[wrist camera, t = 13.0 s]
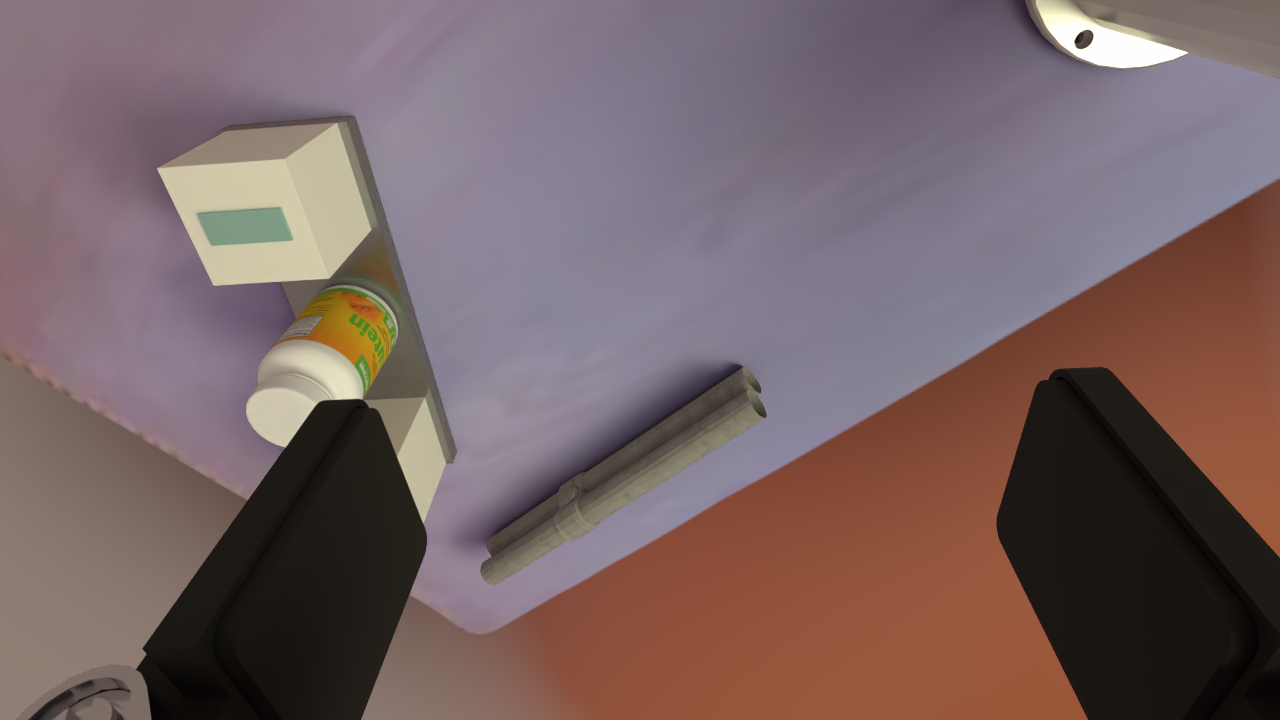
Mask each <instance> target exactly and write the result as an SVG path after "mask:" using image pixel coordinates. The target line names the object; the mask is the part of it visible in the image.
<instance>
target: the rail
mask: <svg viewBox="0 0 1280 720" xmlns="http://www.w3.org/2000/svg"><path fill="white" fill-rule="evenodd" d="M327 123H337V124H338V127H339V130H340V134H341V137H342V140H343V143H344V146H345V149H346V152H347V155H348V159H349V162H350V165H351V168H352V171H353V174H354V177H355V180H356V184H357V187H358V190H359V193H360V196H361V199H362V202H363V205H364V209H365V212H366V215H367V218H368V221H369V224H370V227H371V231H370V232H369V233H368V235H367V236H366V237H365V238H364V239H363V240H362V241H361V243H360V244H359V245H358V246H357V247H356V248H355V250H354V251H353V252H352V253H351V254H350V255H349V256H348V258H347V259H346V260H345V261H344V262H343V263H342V265H341V266H340V267H339V268H338V269H337V270H336V271H335V273H334V274H333V275H332V276H331V277H330V278H329V279H315V280H298V281H282V282H281V284H282V287H283V289H284V291H285V294H286V296H287V299H288V301H289V303H290V306H291V308H292V311H293V313H294V315H295V318H297V317H298V316H299V315H300V314H301V312H302V311H303V310H304V309H305V308H306V306H307V305H308V304H309V303H310V302H311V301H312V300H313V299H314V298H315V297H316V296H317V295H318V294H319V293H320V292H321V291H323V290H325V289H327V288H329V287H333V286H338V285H352V286H357V287H361V288H364V289H366V290H368V291H370V292H372V293H374V294H375V295H377V296H378V297H380V298H381V299H382V300H383V301H384V302H385V303H386V304H387V305H388V306H389V307H390V309H391V310H392V312H393V314H394V315H395V318H396V321H397V325H398V336H397V340H396V343H395V345H394V346H393V349H392V350H391V352H390V354H389V355H388V357H387V359H386V360H385V362H384V364H383V365H382V367H381V369H380V371H379V372H378V374H377V376H376V377H375V379H374V381H373V382H372V384H371V386H370V388H369V389H368V391H367V393H366V395H365V396H364V398H363V400H378V399H398V398H418V397H425V399H426V402H427V406H428V409H429V412H430V415H431V418H432V421H433V424H434V427H435V431H436V434H437V437H438V440H439V443H440V446H441V449H442V452H443V456H444V459H445V462H446V463H453V461H454V459H455V456H456V453H457V451H456V447H455V444H454V441H453V437H452V434H451V431H450V428H449V424H448V421H447V418H446V414H445V411H444V408H443V404H442V401H441V398H440V395H439V391H438V388H437V385H436V381H435V378H434V375H433V372H432V368H431V365H430V362H429V358H428V355H427V352H426V349H425V345H424V342H423V339H422V335H421V332H420V329H419V325H418V322H417V319H416V316H415V312H414V309H413V306H412V302H411V299H410V296H409V293H408V289H407V286H406V283H405V279H404V276H403V273H402V270H401V266H400V263H399V260H398V256H397V253H396V250H395V246H394V243H393V240H392V237H391V233H390V230H389V227H388V223H387V220H386V217H385V214H384V210H383V207H382V204H381V200H380V197H379V194H378V191H377V187H376V184H375V181H374V177H373V174H372V171H371V167H370V164H369V161H368V158H367V154H366V151H365V148H364V144H363V141H362V138H361V135H360V131H359V128H358V125H357V121H356V118H355V116H348V117H335V118H321V119H308V120H295V121H282V122H268V123H255V124H242V125H229V126H227V127H225V128H224V129H222V130H220V131H218V134H219V135H220V134H222V133H224V132H226V131H233V130H247V129H260V128H273V127H287V126H300V125H313V124H327Z"/></svg>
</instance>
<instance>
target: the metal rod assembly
mask: <svg viewBox="0 0 1280 720" xmlns="http://www.w3.org/2000/svg"><path fill="white" fill-rule="evenodd" d="M760 393H761V387H760V385H759V383H758V381H757V380H756V378H755V377H754V376H753V375H752V374H751V372H750V371H749V370H747V369H746V368H745V367H742V368H741V369H739V370H738V371H736V372H735V373H733V374H732V375H730V376H729V377H728V378H726V379H725V380H723V381H722V382H720V383H719V384H717V385H716V386H714V387H713V388H711V389H710V390H708V391H707V392H705V393H704V394H702V395H701V396H699V397H698V398H696V399H695V400H693V401H692V402H690V403H689V404H687V405H686V406H684V407H683V408H681V409H680V410H678V411H677V412H675V413H674V414H672V415H671V416H669V417H668V418H666V419H665V420H663V421H662V422H660V423H659V424H657V425H656V426H654V427H653V428H651V429H650V430H648V431H647V432H645V433H644V434H642V435H641V436H639V437H638V438H636V439H635V440H633V441H632V442H630V443H629V444H627V445H626V446H624V447H623V448H621V449H620V450H618V451H617V452H615V453H614V454H613V455H611V456H610V457H608V458H607V459H605V460H604V461H602V462H601V463H599V464H598V465H596V466H595V467H593V468H592V469H590V470H589V471H587V472H585V471H584V472H581V473H579V474H577V475H576V476H574V477H573V478H571V479H570V480H568V481H567V482H566V483H565V484H563V485H561V487H560V488H559V492H557V493H556V494H554V495H553V496H551V497H550V498H548V499H547V500H545V501H544V502H543V503H541V504H540V505H538V506H537V507H535V508H534V509H532V510H531V511H529V512H528V513H526V514H525V515H523V516H522V517H520V518H519V519H517V520H516V521H514V522H513V523H511V524H510V525H509V526H507V527H506V528H504V529H503V530H501V531H500V532H498V533H497V534H495V535H494V536H492V537H491V538H489V540H488V542H487V549H488V551H489V553H490V554H491V556H492V557H491V558H489V559H488V560H486V561H485V562H483V563H482V565H481V570H480V572H481V575H482V577H483V579H484V581H486V582H487V583H488V584H490V585H497V584H498V583H500V582H501V581H503V580H504V579H506V578H508V577H509V576H511V575H512V574H514V573H516V572H517V571H519V570H521V569H522V568H524V567H525V566H527V565H529V564H530V563H532V562H534V561H535V560H537V559H538V558H540V557H542V556H543V555H545V554H547V553H548V552H550V551H551V550H553V549H555V548H556V547H558V546H560V545H561V544H563V543H564V542H566V541H568V540H570V541H574V540H577V539H578V538H580V537H582V536H584V535H585V534H587V533H589V532H590V531H592V530H593V529H594V528H596V527H597V526H598V524H599V523H600V521H602V520H603V519H605V518H606V517H608V516H610V515H611V514H613V513H614V512H616V511H618V510H619V509H621V508H622V507H624V506H625V505H627V504H629V503H630V502H632V501H633V500H635V499H637V498H638V497H640V496H641V495H643V494H645V493H646V492H648V491H649V490H651V489H653V488H654V487H656V486H657V485H659V484H661V483H662V482H664V481H665V480H667V479H669V478H670V477H672V476H673V475H675V474H677V473H678V472H680V471H681V470H683V469H685V468H686V467H688V466H689V465H691V464H693V463H694V462H696V461H697V460H699V459H701V458H702V457H704V456H705V455H707V454H709V453H710V452H712V451H713V450H715V449H717V448H718V447H720V446H721V445H723V444H724V443H726V442H728V441H729V440H731V439H732V438H734V437H736V436H737V435H739V434H740V433H742V432H744V431H745V430H747V429H748V428H750V427H752V426H753V425H755V424H756V423H758V422H760V421H761V420H763V419H764V418H766V412H765V409H764V406H763V404H762V403H761V401H760V399H759V398H758V397H757V395H758V394H760Z"/></svg>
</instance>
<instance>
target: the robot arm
mask: <svg viewBox="0 0 1280 720" xmlns="http://www.w3.org/2000/svg"><path fill="white" fill-rule="evenodd" d="M1025 2H1026V5H1027V8H1028V11H1029V14H1030V16H1031V18H1032V20H1033V21H1034V23H1035V25H1036V26H1037V28H1038V29H1039V31H1040V33H1041V34H1042V35H1043V36H1044V37H1045V38H1046V39H1047V40H1048V41H1049V42H1050V43H1051V44H1052V45H1053V46H1054V47H1056V48H1057V49H1058V50H1060V51H1061V52H1063V53H1065V54H1067V55H1069V56H1071V57H1073V58H1075V59H1076V60H1079V61H1082V62H1085V63H1088V64H1091V65H1094V66H1098V67H1106V68H1113V69H1131V68H1144V67H1149V66H1153V65H1156V64H1160V63H1164V62H1168V61H1172V60H1174V59H1177V58H1179V57H1181V56H1184V55H1186V54H1188V53H1191V54H1195V55H1198V56H1202V57H1205V58H1209V59H1212V60H1216V61H1219V62H1223V63H1226V64H1230V65H1233V66H1237V67H1240V68H1244V69H1247V70H1251V71H1254V72H1258V73H1261V74H1265V75H1268V76H1272V77H1275V78H1279V79H1280V0H1025ZM1078 34H1079V37H1078V39H1077V40H1076V41H1074V40H1075V38H1076V36H1077V35H1078ZM997 532H998V536H999V539H1000V542H1001V544H1002V546H1003V548H1004V550H1005V552H1006V554H1007V556H1008V558H1009V560H1010V563H1011V565H1012V567H1013V569H1014V571H1015V573H1016V574H1017V577H1018V578H1019V581H1020V583H1021V585H1022V587H1023V589H1024V591H1025V593H1026V595H1027V597H1028V599H1029V601H1030V603H1031V605H1032V607H1033V609H1034V611H1035V613H1036V615H1037V617H1038V619H1039V621H1040V623H1041V625H1042V627H1043V629H1044V631H1045V633H1046V635H1047V637H1048V639H1049V641H1050V643H1051V645H1052V647H1053V650H1054V651H1055V654H1056V656H1057V658H1058V660H1059V662H1060V664H1061V666H1062V668H1063V670H1064V672H1065V674H1066V676H1067V678H1068V680H1069V682H1070V684H1071V686H1072V688H1073V690H1074V692H1075V694H1076V696H1077V698H1078V700H1079V702H1080V704H1081V706H1082V708H1083V710H1084V712H1085V714H1086V716H1087V718H1088V720H1280V558H1279V556H1277V554H1276V553H1275V552H1274V551H1273V550H1272V549H1271V548H1270V546H1269V545H1267V543H1266V542H1265V541H1264V540H1263V539H1262V538H1261V537H1260V535H1259V534H1258V533H1257V532H1256V531H1255V530H1254V529H1253V528H1252V527H1251V525H1250V524H1249V523H1248V522H1247V521H1246V520H1245V519H1244V518H1243V517H1242V515H1241V514H1240V513H1239V512H1238V511H1237V510H1236V509H1235V508H1234V507H1233V506H1232V504H1231V503H1230V502H1229V501H1228V500H1227V499H1226V498H1225V497H1224V496H1223V494H1222V493H1221V492H1220V491H1219V490H1218V489H1217V488H1216V487H1215V486H1214V485H1213V484H1212V482H1211V481H1210V480H1209V479H1208V478H1207V477H1206V476H1205V475H1204V473H1203V472H1202V471H1201V470H1200V469H1199V468H1198V467H1197V466H1196V465H1195V463H1194V462H1193V461H1192V460H1191V459H1190V458H1189V457H1188V456H1187V455H1186V453H1185V452H1184V451H1183V450H1182V449H1181V448H1180V447H1179V446H1178V445H1177V444H1176V442H1175V441H1174V440H1173V439H1172V438H1171V437H1170V436H1169V435H1168V434H1167V433H1166V431H1165V430H1164V429H1163V428H1162V427H1161V426H1160V425H1159V424H1158V423H1157V421H1156V420H1155V419H1154V418H1153V417H1152V416H1151V415H1150V414H1149V413H1148V411H1147V410H1146V409H1145V408H1144V407H1143V406H1142V405H1141V404H1140V403H1139V401H1138V400H1137V399H1136V398H1135V397H1134V396H1133V395H1132V394H1131V393H1130V391H1129V390H1128V389H1127V388H1126V387H1125V386H1124V385H1123V384H1122V383H1121V382H1120V381H1119V379H1118V378H1117V377H1116V376H1115V375H1114V374H1113V373H1112V372H1111V371H1110V370H1108V369H1107V368H1103V367H1092V368H1069V369H1058V370H1055V371H1054V372H1053V373H1052V374H1051V375H1050V377H1049V379H1048V380H1043V381H1040V382H1039V383H1038V384H1037V386H1036V389H1035V392H1034V395H1033V398H1032V402H1031V405H1030V408H1029V412H1028V415H1027V418H1026V422H1025V425H1024V428H1023V432H1022V435H1021V438H1020V442H1019V445H1018V448H1017V451H1016V455H1015V459H1014V461H1013V465H1012V468H1011V471H1010V475H1009V478H1008V481H1007V485H1006V488H1005V491H1004V495H1003V498H1002V502H1001V505H1000V508H999V511H998V515H997ZM426 546H427V534H426V530H425V527H424V524H423V522H422V519H421V517H420V514H419V511H418V509H417V506H416V504H415V501H414V499H413V496H412V494H411V491H410V489H409V486H408V483H407V481H406V478H405V476H404V473H403V471H402V468H401V466H400V463H399V461H398V458H397V455H396V453H395V450H394V448H393V445H392V443H391V440H390V438H389V435H388V432H387V430H386V427H385V425H384V422H383V420H382V417H381V415H380V413H379V411H378V410H377V409H375V408H369V406H368V404H367V403H366V402H365V401H364V400H362V399H340V400H323V401H321V402H319V403H318V404H317V405H316V406H315V407H314V408H313V410H312V411H311V413H310V414H309V415H308V417H307V418H306V420H305V421H304V422H303V424H302V425H301V427H300V428H299V429H298V431H297V432H296V434H295V435H294V436H293V438H292V439H291V441H290V442H289V443H288V445H287V446H286V448H285V449H284V450H283V452H282V453H281V455H280V456H279V457H278V459H277V460H276V462H275V463H274V464H273V466H272V467H271V469H270V470H269V472H268V473H267V474H266V476H265V477H264V479H263V480H262V481H261V483H260V484H259V486H258V487H257V488H256V490H255V491H254V493H253V494H252V495H251V497H250V498H249V500H248V501H247V503H246V504H245V505H244V507H243V508H242V510H241V511H240V512H239V514H238V515H237V517H236V518H235V519H234V521H233V522H232V524H231V525H230V526H229V528H228V530H227V531H226V532H225V533H224V535H223V536H222V538H221V539H220V540H219V542H218V543H217V545H216V546H215V548H214V549H213V550H212V552H211V553H210V555H209V556H208V557H207V559H206V560H205V561H204V563H203V564H202V566H201V567H200V569H199V570H198V571H197V573H196V574H195V576H194V577H193V579H192V580H191V581H190V583H189V584H188V585H187V587H186V588H185V590H184V591H183V592H182V594H181V595H180V597H179V598H178V600H177V601H176V602H175V604H174V605H173V606H172V608H171V609H170V611H169V612H168V613H167V615H166V616H165V618H164V619H163V621H162V622H161V623H160V625H159V626H158V627H157V629H156V630H155V632H154V633H153V635H152V636H151V637H150V639H149V640H148V642H147V643H146V644H145V646H144V647H143V650H144V651H145V652H146V653H147V655H146V656H145V658H144V659H143V660H142V662H141V663H140V665H139V666H138V667H137V669H136V670H135V669H133V668H132V667H130V666H123V665H108V666H103V667H98V668H93V669H90V670H88V671H85V672H83V673H81V674H78V675H76V676H73V677H71V678H69V679H67V680H65V681H64V682H62V683H61V684H59V685H57V686H56V687H54V688H52V689H51V690H50V691H48V692H46V693H44V694H43V695H42V696H41V697H40V698H39V699H38V700H36V701H35V702H34V703H33V704H31V705H30V706H29V707H28V708H27V709H25V710H24V711H23V712H22V713H21V714H20V715H19V717H18V718H17V719H16V720H361V718H362V716H363V713H364V710H365V708H366V705H367V703H368V700H369V697H370V695H371V692H372V690H373V687H374V684H375V682H376V679H377V677H378V674H379V671H380V669H381V666H382V664H383V661H384V658H385V656H386V653H387V651H388V648H389V646H390V643H391V640H392V638H393V635H394V633H395V630H396V627H397V625H398V622H399V620H400V617H401V615H402V612H403V609H404V607H405V604H406V602H407V599H408V596H409V594H410V591H411V589H412V586H413V584H414V581H415V578H416V576H417V573H418V571H419V568H420V565H421V563H422V560H423V558H424V555H425V552H426Z"/></svg>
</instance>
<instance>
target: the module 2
mask: <svg viewBox="0 0 1280 720" xmlns="http://www.w3.org/2000/svg"><path fill="white" fill-rule="evenodd" d="M364 401H365V402H366V403H367V404H368V406H369V408H375V409H377V410H378V411H379V413H380V415H381V417H382V420H383V422H384V425H385V427H386V430H387V432H388V435H389V438H390V440H391V443H392V445H393V448H394V450H395V453H396V455H397V458H398V461H399V463H400V466H401V468H402V471H403V473H404V476H405V478H406V481H407V483H408V486H409V489H410V491H411V494H412V496H413V499H414V501H415V504H416V506H417V509H418V511H419V514H420V517H421V519H422V522H423V523H424V521H425V518H426V515H427V513H428V510H429V507H430V505H431V502H432V499H433V497H434V494H435V491H436V489H437V486H438V483H439V481H440V478H441V475H442V473H443V470H444V467H445V465H446V462H445V459H444V456H443V452H442V449H441V446H440V443H439V440H438V437H437V434H436V431H435V427H434V424H433V421H432V418H431V415H430V412H429V409H428V406H427V402H426V399H425V397H418V398H398V399H378V400H364Z"/></svg>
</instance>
